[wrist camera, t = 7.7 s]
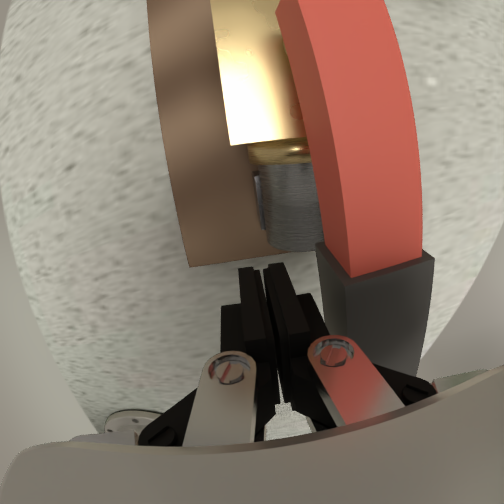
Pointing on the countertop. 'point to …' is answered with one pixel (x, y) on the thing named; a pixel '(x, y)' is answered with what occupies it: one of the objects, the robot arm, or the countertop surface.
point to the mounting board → (201, 138)
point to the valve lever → (362, 175)
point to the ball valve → (267, 121)
